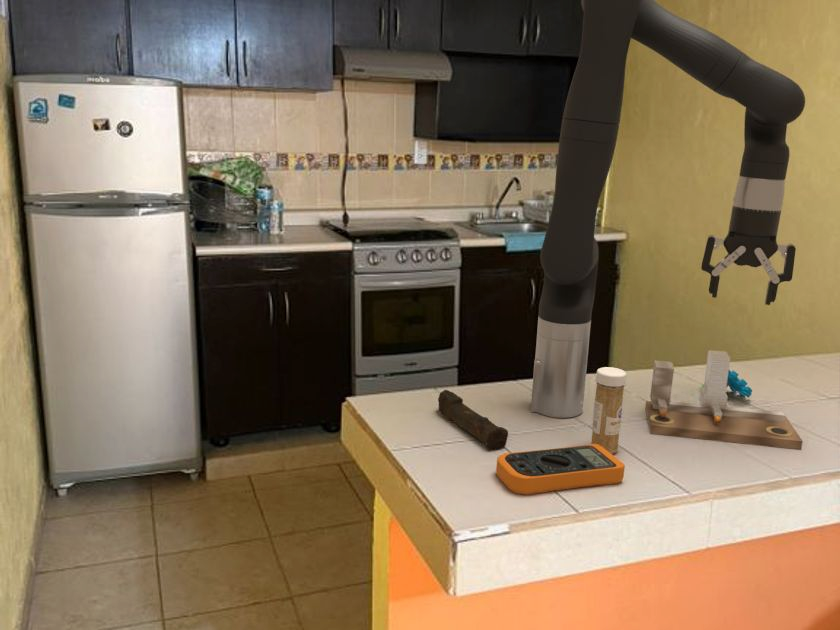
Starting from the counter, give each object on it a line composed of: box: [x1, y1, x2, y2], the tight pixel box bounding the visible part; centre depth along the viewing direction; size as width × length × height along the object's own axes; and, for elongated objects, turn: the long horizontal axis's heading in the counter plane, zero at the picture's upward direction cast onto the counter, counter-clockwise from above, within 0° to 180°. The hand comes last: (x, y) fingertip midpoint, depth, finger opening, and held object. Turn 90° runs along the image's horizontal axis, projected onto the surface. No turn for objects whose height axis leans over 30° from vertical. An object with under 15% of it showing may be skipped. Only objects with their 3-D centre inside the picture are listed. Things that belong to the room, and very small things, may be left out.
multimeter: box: [495, 443, 626, 496], centre depth 115 cm, size 9×18×3 cm, turn 108°
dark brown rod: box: [437, 389, 509, 452], centre depth 132 cm, size 19×4×5 cm, turn 26°
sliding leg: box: [698, 349, 731, 423], centre depth 135 cm, size 4×8×10 cm, turn 169°
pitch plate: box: [644, 360, 803, 451], centre depth 135 cm, size 24×12×10 cm, turn 79°
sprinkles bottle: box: [590, 366, 627, 455], centre depth 124 cm, size 5×5×14 cm
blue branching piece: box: [700, 369, 753, 399], centre depth 151 cm, size 11×6×10 cm
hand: (740, 300), depth 133 cm, fingers open, 8 cm apart
